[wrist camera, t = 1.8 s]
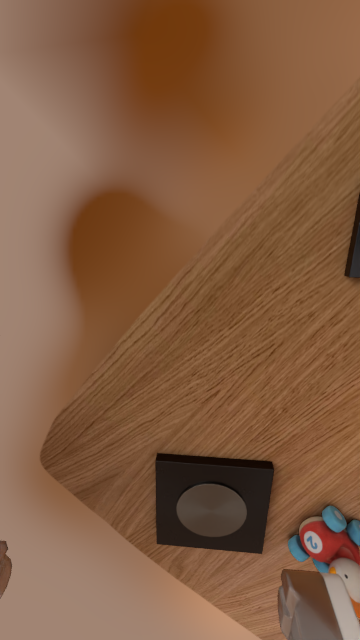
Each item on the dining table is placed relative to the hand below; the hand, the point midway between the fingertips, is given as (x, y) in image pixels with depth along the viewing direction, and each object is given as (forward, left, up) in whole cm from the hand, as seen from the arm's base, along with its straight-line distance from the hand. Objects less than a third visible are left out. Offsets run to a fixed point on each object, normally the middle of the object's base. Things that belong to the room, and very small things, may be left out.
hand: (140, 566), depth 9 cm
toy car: (+21, -34, -29) cm, 50 cm away
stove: (+4, -30, -29) cm, 42 cm away
